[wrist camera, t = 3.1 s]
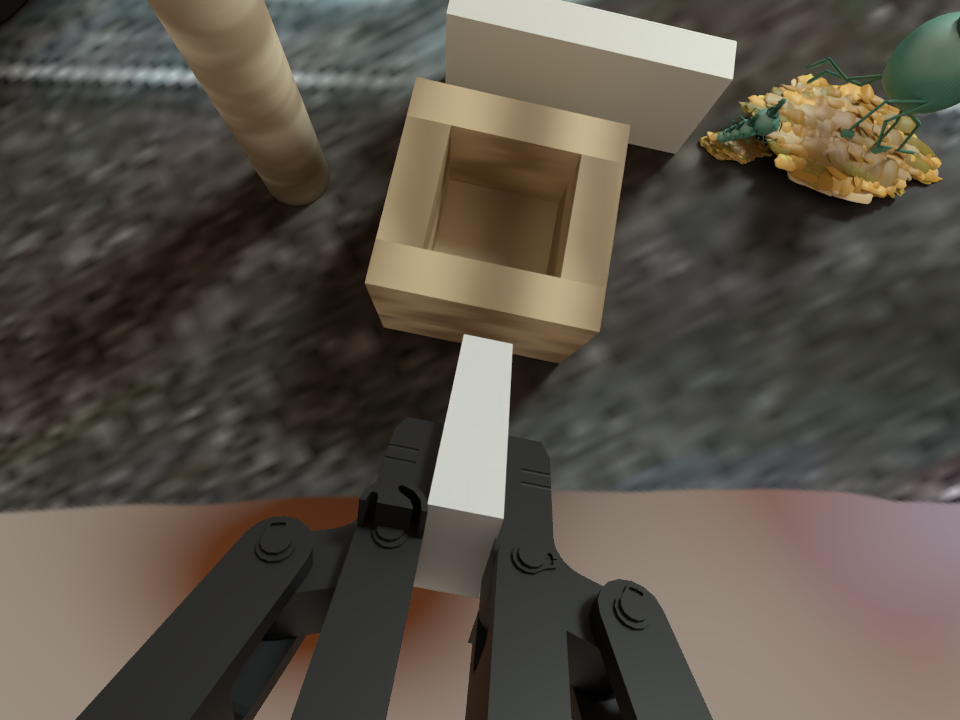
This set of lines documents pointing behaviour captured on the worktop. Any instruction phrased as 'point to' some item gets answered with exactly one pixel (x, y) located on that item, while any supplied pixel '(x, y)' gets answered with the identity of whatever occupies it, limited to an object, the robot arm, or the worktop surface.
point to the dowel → (250, 90)
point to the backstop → (590, 64)
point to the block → (498, 222)
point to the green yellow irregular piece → (854, 120)
